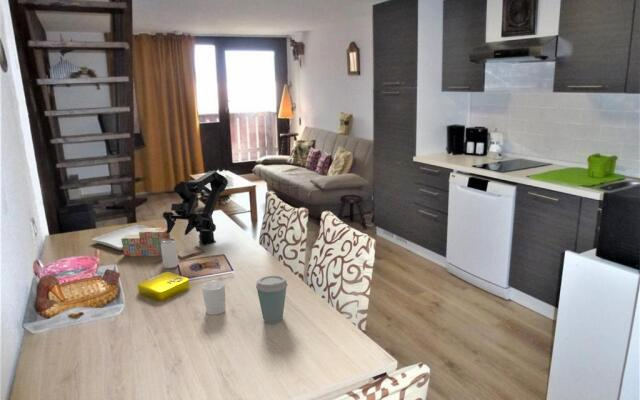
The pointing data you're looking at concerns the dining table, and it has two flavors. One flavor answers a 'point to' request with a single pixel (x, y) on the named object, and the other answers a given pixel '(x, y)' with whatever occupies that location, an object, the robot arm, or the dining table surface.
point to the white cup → (214, 297)
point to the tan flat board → (190, 252)
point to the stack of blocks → (145, 242)
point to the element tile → (163, 286)
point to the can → (169, 253)
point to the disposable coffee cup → (272, 297)
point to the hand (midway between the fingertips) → (176, 234)
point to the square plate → (118, 236)
